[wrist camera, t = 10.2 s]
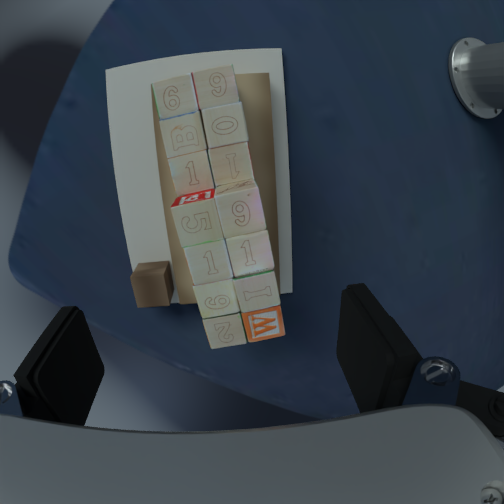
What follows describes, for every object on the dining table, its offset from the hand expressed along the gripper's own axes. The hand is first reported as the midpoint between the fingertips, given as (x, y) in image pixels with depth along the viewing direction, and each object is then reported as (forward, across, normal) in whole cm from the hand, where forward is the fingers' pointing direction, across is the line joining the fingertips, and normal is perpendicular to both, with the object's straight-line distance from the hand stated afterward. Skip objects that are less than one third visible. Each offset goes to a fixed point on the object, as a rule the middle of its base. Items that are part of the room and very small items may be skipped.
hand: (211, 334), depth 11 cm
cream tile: (+28, +2, -1) cm, 28 cm away
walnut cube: (+27, +9, +10) cm, 30 cm away
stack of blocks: (+24, 0, -1) cm, 24 cm away
